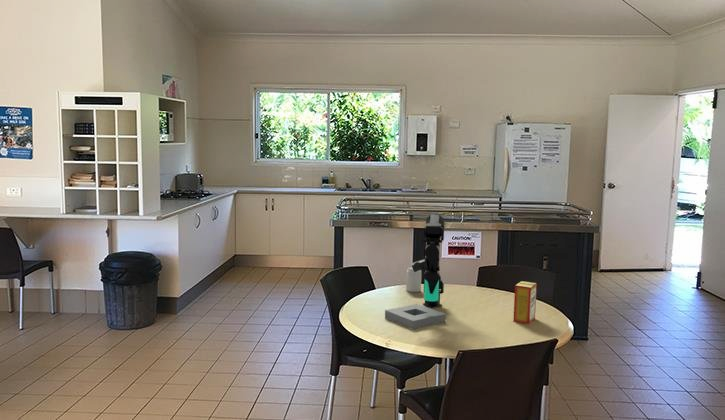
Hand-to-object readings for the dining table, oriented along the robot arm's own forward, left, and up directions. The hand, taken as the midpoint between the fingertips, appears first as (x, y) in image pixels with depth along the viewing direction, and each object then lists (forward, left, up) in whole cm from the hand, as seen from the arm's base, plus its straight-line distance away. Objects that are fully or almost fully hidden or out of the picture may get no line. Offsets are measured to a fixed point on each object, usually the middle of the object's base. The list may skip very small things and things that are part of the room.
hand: (431, 291), depth 245 cm
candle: (0, 0, -4) cm, 4 cm away
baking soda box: (-35, +20, -13) cm, 43 cm away
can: (-27, -43, -13) cm, 52 cm away
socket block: (+5, -5, -13) cm, 14 cm away
